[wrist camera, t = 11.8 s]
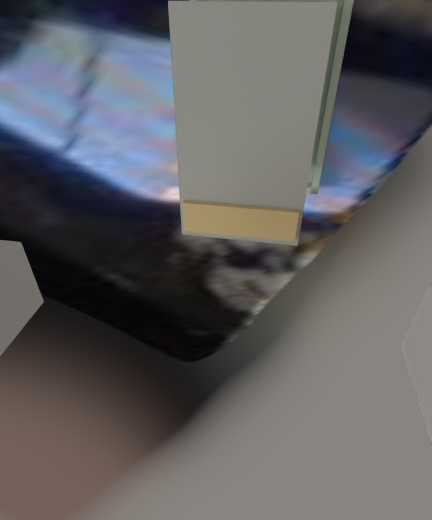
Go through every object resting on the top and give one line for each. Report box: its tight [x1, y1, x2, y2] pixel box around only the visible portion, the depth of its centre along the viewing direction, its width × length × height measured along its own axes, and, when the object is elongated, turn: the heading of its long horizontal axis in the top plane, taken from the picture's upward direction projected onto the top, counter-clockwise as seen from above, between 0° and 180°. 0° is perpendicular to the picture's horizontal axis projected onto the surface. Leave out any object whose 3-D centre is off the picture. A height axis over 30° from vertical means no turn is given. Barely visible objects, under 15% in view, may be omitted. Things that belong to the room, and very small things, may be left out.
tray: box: [189, 0, 354, 194], centre depth 24 cm, size 10×14×1 cm
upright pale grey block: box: [168, 1, 337, 246], centre depth 20 cm, size 6×10×11 cm, turn 0°
